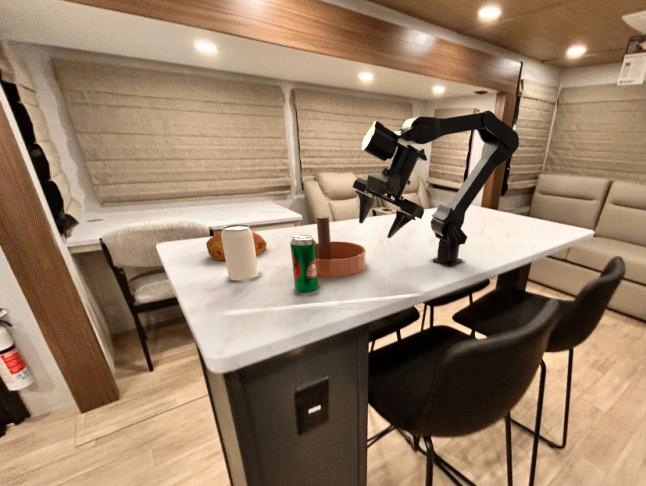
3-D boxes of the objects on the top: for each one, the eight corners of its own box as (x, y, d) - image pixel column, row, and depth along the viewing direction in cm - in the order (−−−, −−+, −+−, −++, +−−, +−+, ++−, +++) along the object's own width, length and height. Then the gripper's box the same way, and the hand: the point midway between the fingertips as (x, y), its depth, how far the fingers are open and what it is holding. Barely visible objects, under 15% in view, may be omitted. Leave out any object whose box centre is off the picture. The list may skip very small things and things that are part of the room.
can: (265, 274, 76) (257, 225, 71) (244, 283, 70) (235, 231, 65) (244, 270, 78) (235, 222, 73) (222, 279, 72) (212, 228, 67)
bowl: (338, 254, 92) (338, 238, 90) (377, 268, 82) (378, 250, 80) (289, 267, 80) (287, 249, 78) (328, 285, 71) (327, 265, 69)
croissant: (200, 265, 85) (190, 238, 81) (238, 243, 98) (230, 219, 94) (246, 270, 82) (237, 242, 78) (278, 246, 95) (272, 221, 91)
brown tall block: (333, 264, 82) (331, 215, 77) (335, 268, 80) (332, 218, 74) (316, 265, 81) (313, 215, 76) (317, 269, 78) (313, 218, 73)
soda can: (312, 296, 65) (308, 241, 61) (290, 293, 66) (284, 239, 61) (322, 287, 70) (319, 235, 65) (302, 284, 71) (297, 233, 66)
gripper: (352, 146, 71) (327, 210, 74) (419, 173, 64) (388, 242, 67) (376, 162, 81) (353, 218, 84) (436, 187, 74) (409, 247, 77)
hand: (374, 230), depth 78 cm, fingers open, 9 cm apart
